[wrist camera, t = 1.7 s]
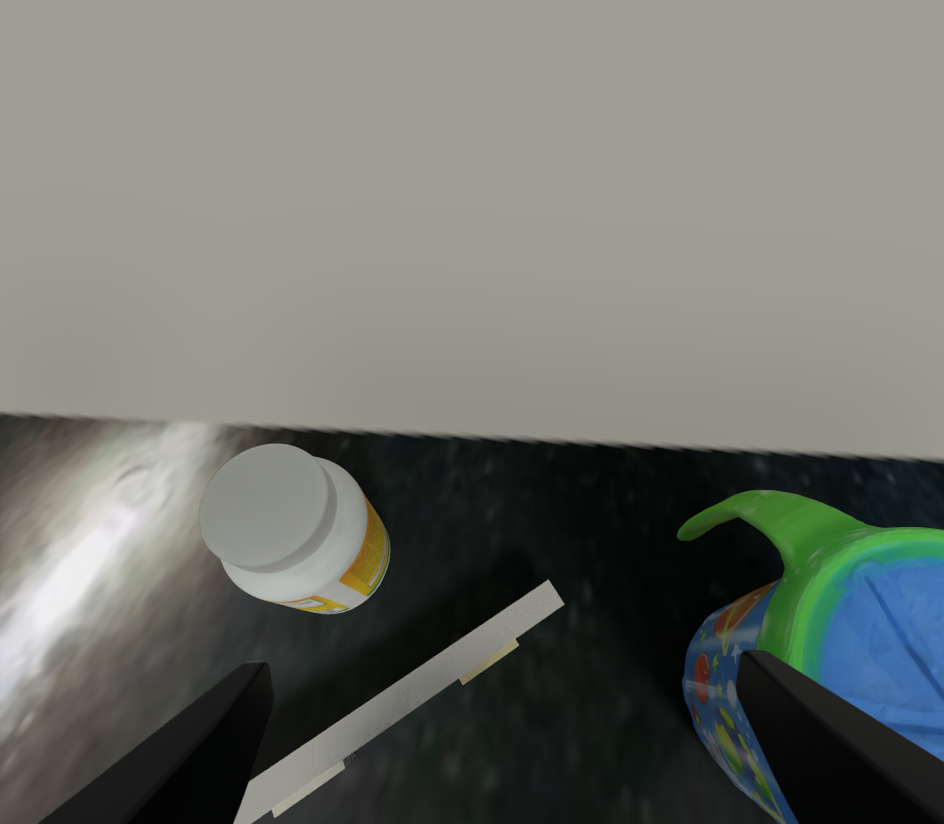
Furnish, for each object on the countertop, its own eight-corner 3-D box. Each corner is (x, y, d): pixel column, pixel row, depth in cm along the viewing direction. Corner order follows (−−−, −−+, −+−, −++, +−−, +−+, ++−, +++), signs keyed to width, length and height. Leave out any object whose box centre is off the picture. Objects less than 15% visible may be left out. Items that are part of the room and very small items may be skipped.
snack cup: (1002, 874, 17) (1593, 1126, 8) (770, 1004, 16) (1187, 1499, 7) (759, 498, 24) (934, 410, 15) (581, 562, 22) (657, 506, 13)
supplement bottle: (310, 638, 21) (202, 633, 12) (269, 540, 23) (150, 476, 14) (412, 572, 22) (377, 527, 14) (364, 485, 24) (307, 398, 16)
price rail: (541, 585, 22) (548, 579, 20) (560, 613, 21) (568, 610, 20) (217, 804, 18) (189, 821, 16) (228, 847, 17) (201, 869, 16)
